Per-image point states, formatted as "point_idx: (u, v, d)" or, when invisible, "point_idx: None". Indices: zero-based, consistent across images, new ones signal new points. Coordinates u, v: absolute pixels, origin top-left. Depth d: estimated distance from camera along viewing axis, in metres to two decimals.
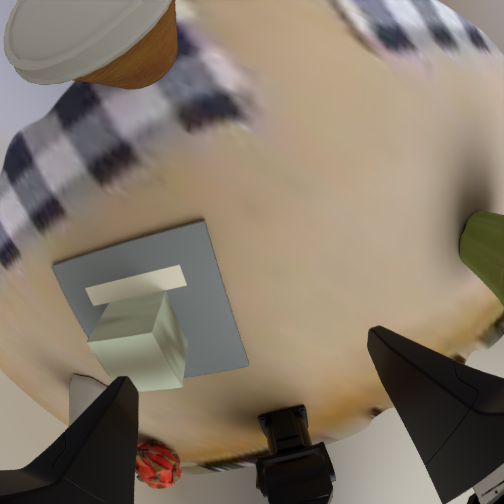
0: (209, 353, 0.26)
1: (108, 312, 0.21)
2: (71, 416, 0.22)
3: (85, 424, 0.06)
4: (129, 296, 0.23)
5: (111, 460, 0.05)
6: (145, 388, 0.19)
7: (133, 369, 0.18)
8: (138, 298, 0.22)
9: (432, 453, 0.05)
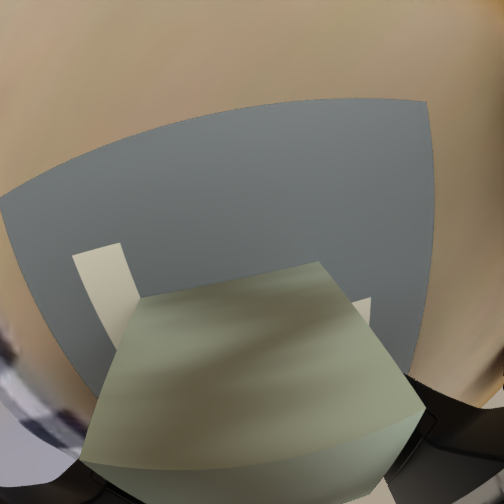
0: (371, 204, 0.08)
1: None
2: None
3: None
4: None
5: None
6: (373, 477, 0.04)
7: (277, 503, 0.04)
8: None
9: (392, 474, 0.05)
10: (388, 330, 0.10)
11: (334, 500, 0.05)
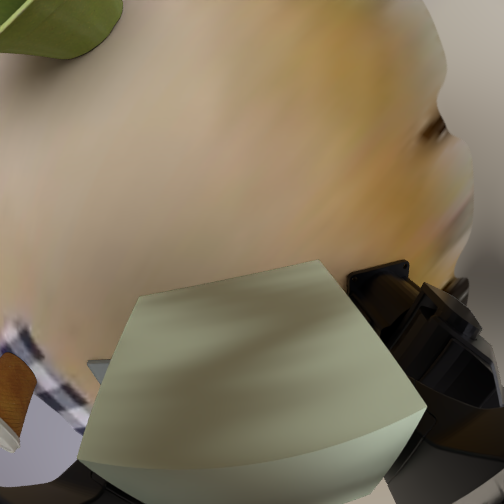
0: None
1: None
2: None
3: None
4: None
5: None
6: (374, 477, 0.04)
7: (277, 503, 0.04)
8: None
9: (393, 473, 0.05)
10: None
11: (334, 500, 0.05)
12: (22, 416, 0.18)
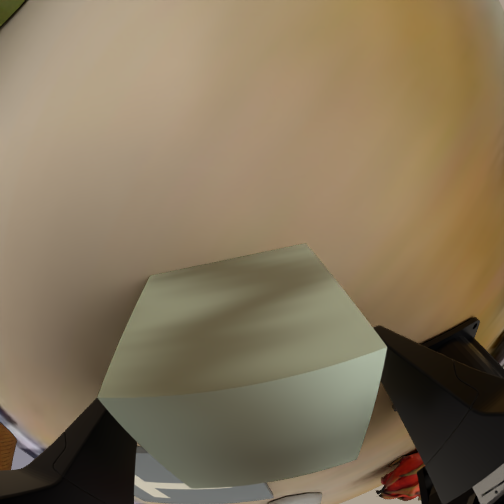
0: None
1: None
2: None
3: (85, 424, 0.06)
4: (150, 486, 0.17)
5: (111, 460, 0.05)
6: (355, 431, 0.06)
7: (268, 452, 0.06)
8: None
9: (432, 453, 0.05)
10: (243, 486, 0.18)
11: (322, 459, 0.06)
12: None
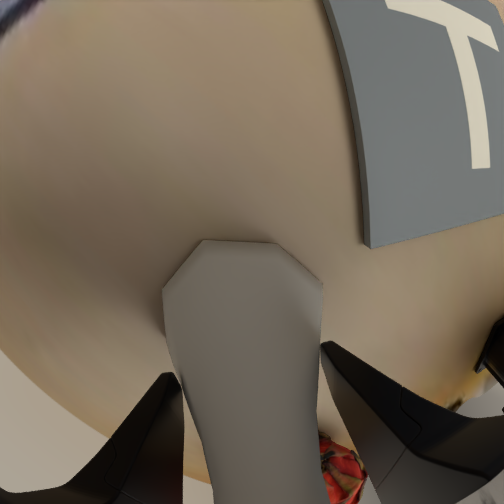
0: None
1: None
2: (227, 393, 0.06)
3: (135, 427, 0.06)
4: (448, 25, 0.07)
5: (163, 464, 0.06)
6: None
7: None
8: None
9: (379, 480, 0.05)
10: (471, 187, 0.10)
11: None
12: None
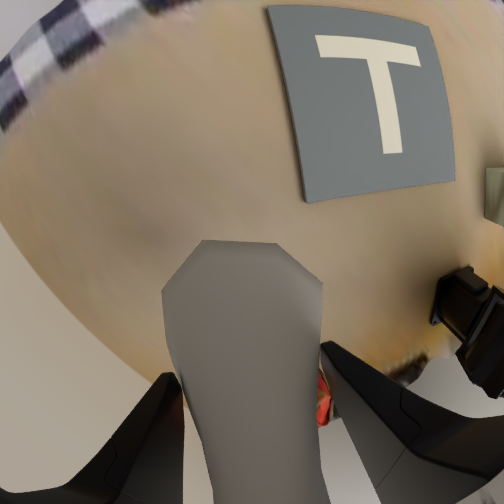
0: (431, 151, 0.19)
1: (499, 170, 0.19)
2: (227, 394, 0.06)
3: (135, 427, 0.06)
4: (369, 57, 0.15)
5: (163, 464, 0.06)
6: None
7: None
8: (500, 167, 0.20)
9: (379, 480, 0.05)
10: (384, 166, 0.19)
11: None
12: None
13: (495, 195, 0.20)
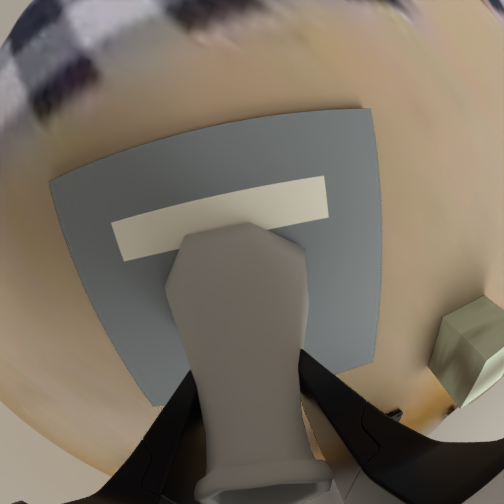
0: (328, 346, 0.15)
1: (461, 326, 0.15)
2: (210, 355, 0.07)
3: (169, 427, 0.06)
4: None
5: (197, 464, 0.06)
6: (481, 391, 0.14)
7: (493, 372, 0.13)
8: (470, 305, 0.17)
9: (345, 492, 0.05)
10: None
11: (475, 392, 0.13)
12: None
13: (445, 354, 0.17)
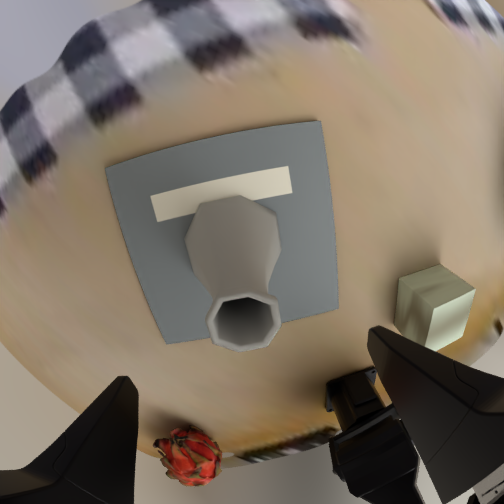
0: (299, 290, 0.22)
1: (414, 284, 0.22)
2: (216, 257, 0.14)
3: (85, 424, 0.06)
4: None
5: (111, 460, 0.05)
6: (442, 345, 0.21)
7: (448, 326, 0.20)
8: (425, 271, 0.24)
9: (432, 453, 0.05)
10: None
11: (434, 343, 0.20)
12: None
13: (404, 309, 0.23)
